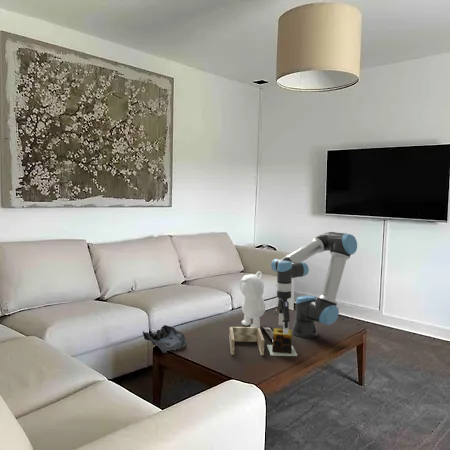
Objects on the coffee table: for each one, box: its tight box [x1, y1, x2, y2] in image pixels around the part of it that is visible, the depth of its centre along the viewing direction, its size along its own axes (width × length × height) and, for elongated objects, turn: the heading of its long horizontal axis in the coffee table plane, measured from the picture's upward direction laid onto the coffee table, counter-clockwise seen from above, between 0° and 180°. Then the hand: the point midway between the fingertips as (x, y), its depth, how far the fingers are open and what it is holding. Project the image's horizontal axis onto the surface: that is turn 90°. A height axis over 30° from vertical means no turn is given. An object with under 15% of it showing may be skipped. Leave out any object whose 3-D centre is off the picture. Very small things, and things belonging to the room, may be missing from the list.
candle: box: [272, 327, 293, 354], centre depth 227 cm, size 10×10×10 cm
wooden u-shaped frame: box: [228, 326, 265, 356], centre depth 230 cm, size 17×21×8 cm
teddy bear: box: [239, 270, 266, 328], centre depth 266 cm, size 19×18×35 cm
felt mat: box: [266, 344, 298, 357], centre depth 228 cm, size 14×14×1 cm
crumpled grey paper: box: [142, 324, 188, 354], centre depth 229 cm, size 18×20×9 cm
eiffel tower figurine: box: [273, 299, 292, 316], centre depth 298 cm, size 15×10×13 cm
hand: (283, 329), depth 227 cm, fingers open, 13 cm apart
